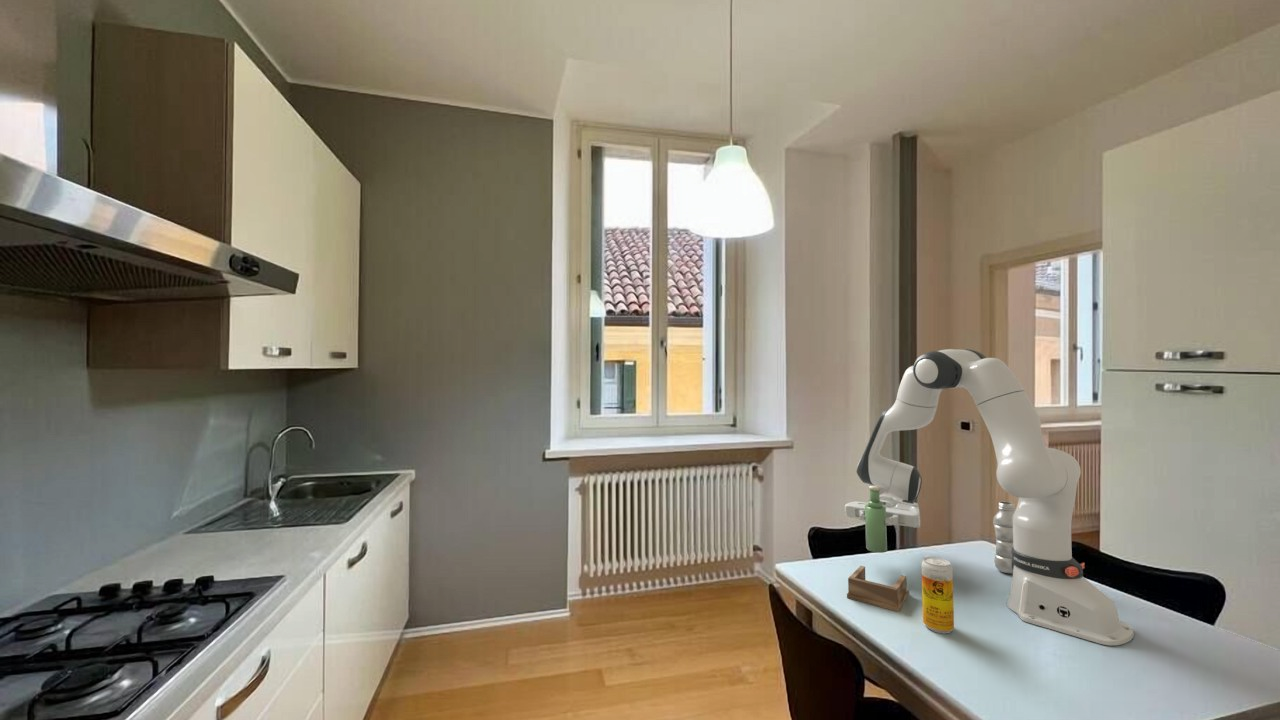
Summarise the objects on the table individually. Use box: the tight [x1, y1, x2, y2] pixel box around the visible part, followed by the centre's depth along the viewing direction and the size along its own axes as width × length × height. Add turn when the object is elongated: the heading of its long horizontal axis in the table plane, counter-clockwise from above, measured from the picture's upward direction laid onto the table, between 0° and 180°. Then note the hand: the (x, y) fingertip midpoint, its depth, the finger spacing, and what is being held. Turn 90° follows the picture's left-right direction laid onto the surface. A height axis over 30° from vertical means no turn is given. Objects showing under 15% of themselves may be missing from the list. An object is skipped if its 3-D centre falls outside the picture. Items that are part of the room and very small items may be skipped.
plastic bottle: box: [992, 501, 1016, 575], centre depth 144 cm, size 6×7×20 cm
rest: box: [846, 565, 910, 612], centre depth 130 cm, size 12×12×5 cm
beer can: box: [921, 556, 955, 634], centre depth 114 cm, size 6×6×15 cm
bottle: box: [864, 485, 888, 554], centre depth 142 cm, size 5×5×18 cm
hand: (874, 519), depth 142 cm, fingers closed on bottle, 5 cm apart
